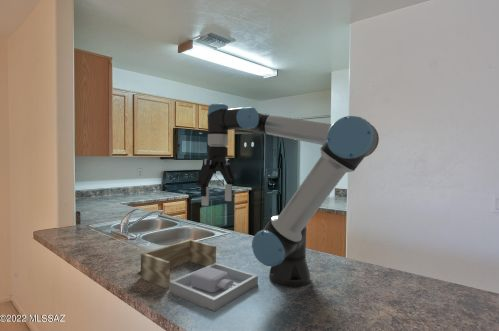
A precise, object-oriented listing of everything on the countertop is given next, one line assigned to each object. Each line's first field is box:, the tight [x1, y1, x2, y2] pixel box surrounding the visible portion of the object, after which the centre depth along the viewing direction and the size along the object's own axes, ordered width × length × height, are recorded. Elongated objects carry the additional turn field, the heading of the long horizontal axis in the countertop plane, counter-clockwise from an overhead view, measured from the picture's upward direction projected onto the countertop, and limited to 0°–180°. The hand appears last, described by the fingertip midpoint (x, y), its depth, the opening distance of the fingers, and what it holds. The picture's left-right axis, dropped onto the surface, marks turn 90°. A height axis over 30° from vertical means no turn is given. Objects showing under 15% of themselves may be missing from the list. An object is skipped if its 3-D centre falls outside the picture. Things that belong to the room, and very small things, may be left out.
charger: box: [191, 266, 236, 293], centre depth 99 cm, size 5×9×15 cm
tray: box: [168, 262, 259, 313], centre depth 99 cm, size 20×22×4 cm
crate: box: [140, 239, 217, 290], centre depth 113 cm, size 15×24×9 cm, turn 144°
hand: (217, 203), depth 108 cm, fingers open, 13 cm apart
